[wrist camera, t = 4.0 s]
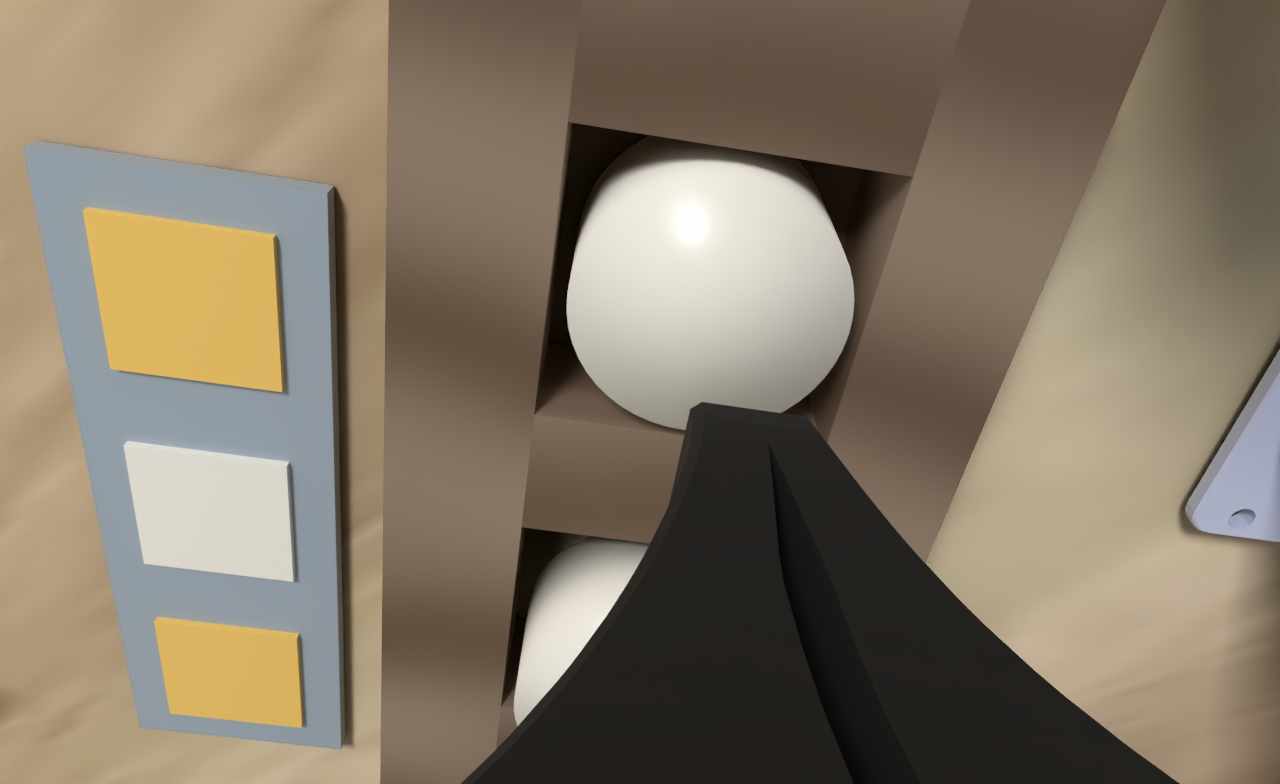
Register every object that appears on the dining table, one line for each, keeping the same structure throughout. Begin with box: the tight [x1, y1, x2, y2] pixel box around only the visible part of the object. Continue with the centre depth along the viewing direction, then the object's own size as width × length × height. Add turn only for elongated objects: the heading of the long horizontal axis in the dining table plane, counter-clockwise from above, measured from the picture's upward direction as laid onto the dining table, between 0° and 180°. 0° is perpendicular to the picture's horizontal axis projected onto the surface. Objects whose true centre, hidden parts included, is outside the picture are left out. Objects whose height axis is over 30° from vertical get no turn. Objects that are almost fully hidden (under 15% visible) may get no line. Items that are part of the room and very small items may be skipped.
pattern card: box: [23, 141, 345, 749], centre depth 20 cm, size 15×5×1 cm, turn 171°
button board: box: [380, 0, 1166, 784], centre depth 20 cm, size 26×10×2 cm, turn 171°
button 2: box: [514, 536, 650, 726], centre depth 18 cm, size 4×4×2 cm
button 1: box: [566, 135, 854, 430], centre depth 15 cm, size 4×4×2 cm
